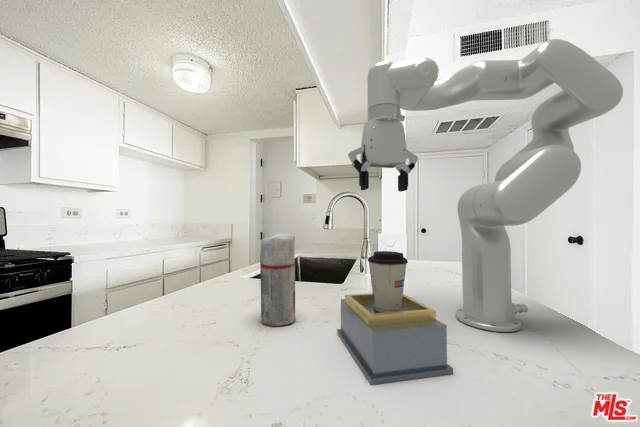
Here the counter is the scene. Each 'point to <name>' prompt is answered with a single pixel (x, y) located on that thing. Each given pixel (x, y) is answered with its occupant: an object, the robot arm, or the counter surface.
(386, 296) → the coffee cup
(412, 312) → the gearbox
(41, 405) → the counter surface
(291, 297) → the spray can
